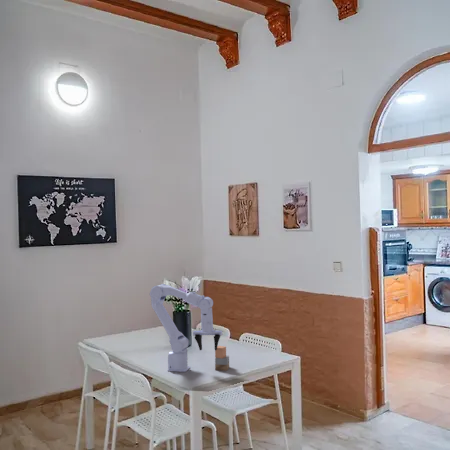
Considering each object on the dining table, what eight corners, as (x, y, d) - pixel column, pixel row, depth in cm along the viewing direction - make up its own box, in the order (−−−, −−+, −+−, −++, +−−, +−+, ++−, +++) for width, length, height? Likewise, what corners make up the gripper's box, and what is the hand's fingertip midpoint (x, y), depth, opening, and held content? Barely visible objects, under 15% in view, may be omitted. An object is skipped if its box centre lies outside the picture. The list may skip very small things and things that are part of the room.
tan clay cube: (215, 357, 242) (215, 347, 242) (219, 355, 246) (219, 345, 246) (222, 358, 240) (222, 348, 240) (226, 356, 244) (226, 346, 244)
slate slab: (215, 364, 241) (215, 358, 241) (217, 361, 247) (217, 355, 247) (227, 364, 240) (227, 358, 240) (229, 361, 246) (229, 355, 246)
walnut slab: (215, 370, 241) (215, 364, 241) (217, 367, 247) (217, 361, 247) (227, 370, 240) (227, 364, 240) (229, 367, 246) (229, 361, 246)
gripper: (190, 323, 237) (191, 351, 237) (219, 323, 234) (221, 351, 234) (194, 321, 244) (195, 348, 243) (222, 320, 241) (224, 348, 241)
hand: (208, 349), depth 239 cm, fingers open, 7 cm apart
